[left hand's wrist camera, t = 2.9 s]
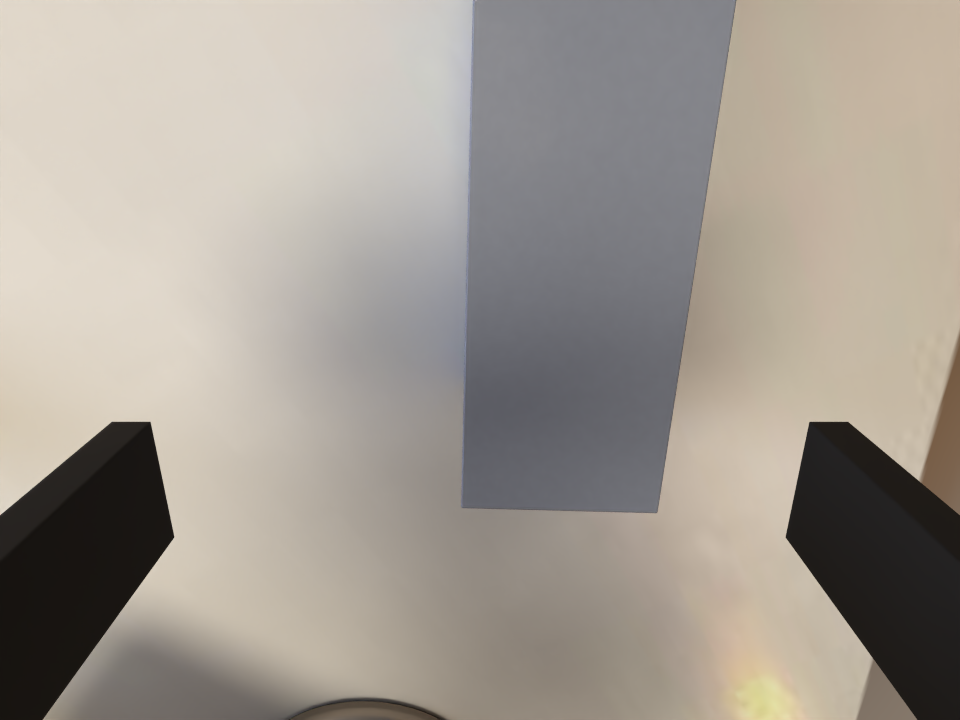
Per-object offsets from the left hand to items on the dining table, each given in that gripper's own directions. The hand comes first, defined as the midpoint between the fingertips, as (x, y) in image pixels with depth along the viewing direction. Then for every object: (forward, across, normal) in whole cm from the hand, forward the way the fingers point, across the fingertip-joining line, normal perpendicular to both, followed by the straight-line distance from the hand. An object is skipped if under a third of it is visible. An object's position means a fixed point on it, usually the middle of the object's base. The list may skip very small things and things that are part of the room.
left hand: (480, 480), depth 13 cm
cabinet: (+17, -3, -4) cm, 18 cm away
